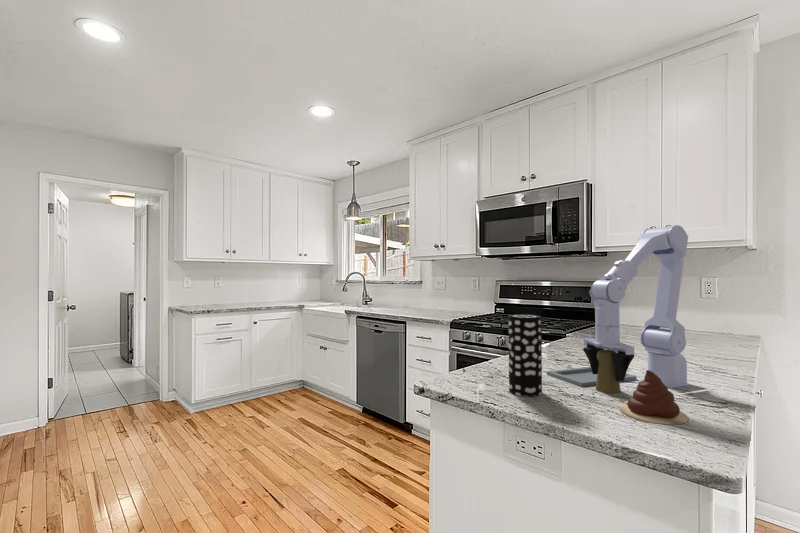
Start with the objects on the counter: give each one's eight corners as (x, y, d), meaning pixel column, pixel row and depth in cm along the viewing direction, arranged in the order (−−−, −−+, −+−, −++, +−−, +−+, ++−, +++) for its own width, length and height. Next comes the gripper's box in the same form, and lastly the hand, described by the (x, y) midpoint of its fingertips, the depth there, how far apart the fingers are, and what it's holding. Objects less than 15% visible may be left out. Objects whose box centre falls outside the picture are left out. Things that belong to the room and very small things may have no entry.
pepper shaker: (624, 396, 105) (623, 352, 105) (598, 394, 106) (598, 352, 106) (616, 389, 111) (616, 348, 111) (592, 388, 112) (592, 347, 112)
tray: (597, 370, 132) (597, 365, 132) (636, 381, 119) (636, 376, 119) (546, 376, 125) (546, 371, 125) (581, 388, 112) (581, 383, 112)
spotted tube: (547, 391, 109) (546, 315, 110) (533, 398, 103) (532, 318, 103) (518, 385, 115) (517, 313, 115) (503, 392, 109) (502, 316, 109)
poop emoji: (630, 416, 90) (630, 373, 90) (624, 404, 98) (623, 364, 98) (685, 421, 86) (684, 376, 86) (673, 408, 94) (673, 367, 94)
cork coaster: (647, 401, 100) (647, 400, 100) (702, 419, 88) (702, 418, 88) (606, 408, 96) (606, 406, 96) (658, 428, 84) (658, 426, 84)
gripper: (574, 322, 114) (575, 372, 114) (618, 329, 100) (619, 385, 100) (594, 321, 116) (595, 370, 116) (640, 328, 103) (641, 383, 103)
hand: (607, 377), depth 108 cm, fingers open, 7 cm apart
